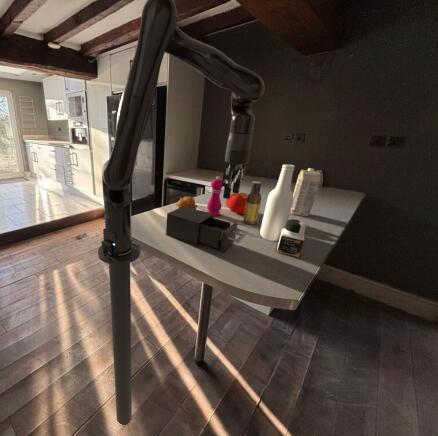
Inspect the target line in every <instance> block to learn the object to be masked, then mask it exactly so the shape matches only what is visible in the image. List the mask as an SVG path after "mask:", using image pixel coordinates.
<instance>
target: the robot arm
mask: <svg viewBox="0 0 438 436" xmlns="http://www.w3.org/2000/svg"><path fill="white" fill-rule="evenodd" d="M177 21H178V11H177V7H176V3H175V1H174V0H146V2H144V6H143V8H142V11H141V18H140V26H139V27H140V28H139V33H138V39H137V43H136V48H135V53H134V56H133V59H132V62H131V65H130V67H129V70H128V74H127V76H126V79H125V81H124V86H123V89H122V93H121V96H120V101H119V105H118V109H117V116H116V123H115V124H116V125H115V138H114V143H113V146H112V150H111V153H110V157H109V159H107V160H106V161H105V162H104V164H103V165H102V168H101V183H102V197H103V211H104V228H103V230H102V235H103V240H102V241H101V246H102V249H103V254H104V256H106V253H107V254H109V255H110V256H112V257H114V258H117V257H123V256H126V255H128V254H130V253H131V251H132V243H133V239H132V198H131V197H132V196H131V189H130V188H131V187H130V185H131V183H132V181H133V177H134V172H135V166H136V161H137V155H138V151H139V148H140V144H141V142H142V139H143V137H144V133H145V130H146V127H147V124H148V121H149V118H150V116H151V111H152V108H153V105H154V101H155V97H156V92H157V88H158V87H157V86H158V83H159V76H160V71H161V68H162V67H161V65H162V62H163V59H164V55H165V54H167V55H169V56H171V57H173V58H175V59H177V60H179V61H180V62H182V63H184V64H185V65H187V66H189V68H190V67H191V68H192V69H193V70H195V71H196V72H197V73H199V74H200V75H202V76H203V77H204V78H206V79H207V80H208V81H209V82H211V83H212V84H214V85H215V86H217V87H219V88H220V89H225V90H228V91H230V92H231V95H230V96H231V98H230V111H231V112H230V113H231V119H230V127H229V133H228V136H227V142H226V148H225V149H226V150H225V155H224V162H225V163H226V164H228V167H224V169H223V175H222V179H221V180H222V186H223V187H222V188H223V195H222V198H223V199H225V200H226V199H229V198H230V196H231V194H232V193H235V194H238V193H240V190H241V189H240V188H241V184H242V183H243V181H244V180H245V173H246V167H247V164H248V163H249V162H250V157H251V151H252V145H253V135H254V130H255V123H256V116H255V114H254V113H253V103H255V102H258V101H259V100H260V99H261V98H262V97H263V95H264V93H265V90H266V85H265V82H264V80H263V78H262V77H261V76H260V75H259V74H257V73H256V72H254V71H252V70H251V69H248V68H246V67H244V66H242V65H239V64H238V63H236V62H235V61H234V60H232V59H231V58H230V57H228V55H226V54H225V53H223V51H220V49H218V48H216V47H214V46H211V45H209V44H207V43H205V42H201V41H199V40H197V39H195V38H192V37H191V36H189V35H187V34H186V33H185V32H183V30H181V29H180V27H178V26H177Z"/></svg>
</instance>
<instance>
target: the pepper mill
mask: <svg viewBox="0 0 438 436" xmlns="http://www.w3.org/2000/svg"><path fill="white" fill-rule="evenodd" d="M222 180H223V179H221V177H220V176H219V175H218V176H216V177H215V179H213V180H211V182H210V187H211V189H210V192H211V196H210V198H209V200H208V201H207V204H206V209H207V211H206V212H208V213H211V214H214V217H219V216H220V214H221V213H220V210H222V201H221V198H220V196H221V193H222V189H223V188H224V187H223V186H222Z"/></svg>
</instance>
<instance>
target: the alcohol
mask: <svg viewBox="0 0 438 436" xmlns="http://www.w3.org/2000/svg"><path fill="white" fill-rule="evenodd" d="M281 167H282V168H281V171H280V173H279V178H278V181H277V183H276V186H275V188H273V189H272V190H271V191H270V192H269V194H268V196H267V200H266V205H265V207H264V208H265V209H264V212H263V217H262V223H261V225H260V226H261V227H260V231H259V235H260V237H261V238H263V239H264V240H267V241H271V242H279V240H280V236H281V232H282V229H283V228H284V229H285V225H286V222H287V220H289V217H290V214H291V207H292V203H293V192H292V190H291V189H292V188H291V186H292V180H293V175H294V171H295V168H296V167H295V165H294V164H286V163H285V164H282V166H281Z"/></svg>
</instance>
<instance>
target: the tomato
mask: <svg viewBox="0 0 438 436" xmlns="http://www.w3.org/2000/svg"><path fill="white" fill-rule="evenodd" d="M249 194H250V193H246V192H239V193H238V194H236V193H233V192H231V196H230V198H229V199H225V207H226V208H228V209H229V210H230V211H231V212H232V213H235V214H240V215H244V212H245V206H246V200H247V197H248V196H249Z"/></svg>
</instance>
